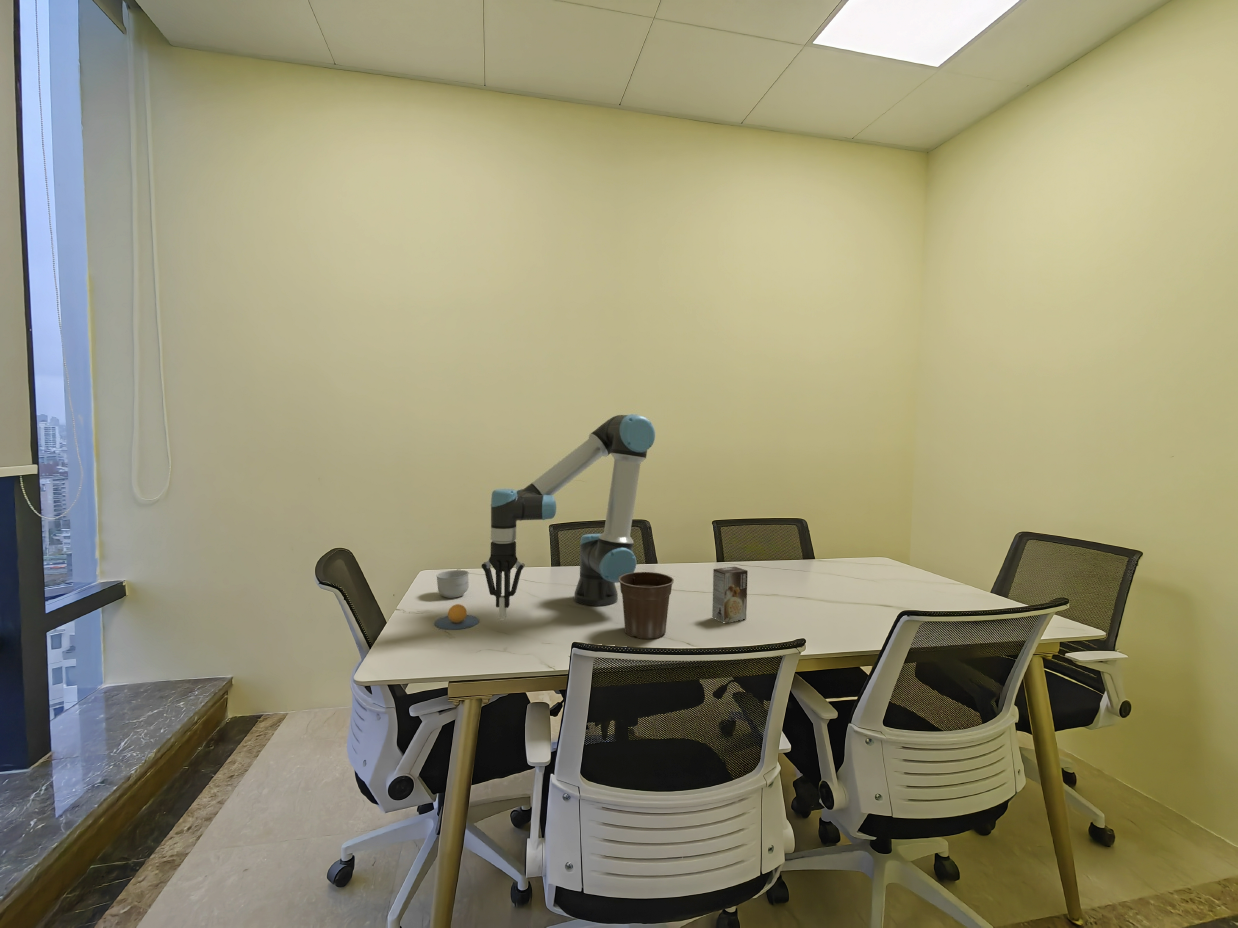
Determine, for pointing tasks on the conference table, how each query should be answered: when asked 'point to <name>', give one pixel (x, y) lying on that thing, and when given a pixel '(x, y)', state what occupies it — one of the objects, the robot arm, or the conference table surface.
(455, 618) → the ball
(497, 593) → the robot arm
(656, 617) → the plant pot
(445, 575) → the teacup
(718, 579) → the coffee box
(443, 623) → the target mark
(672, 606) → the conference table surface
